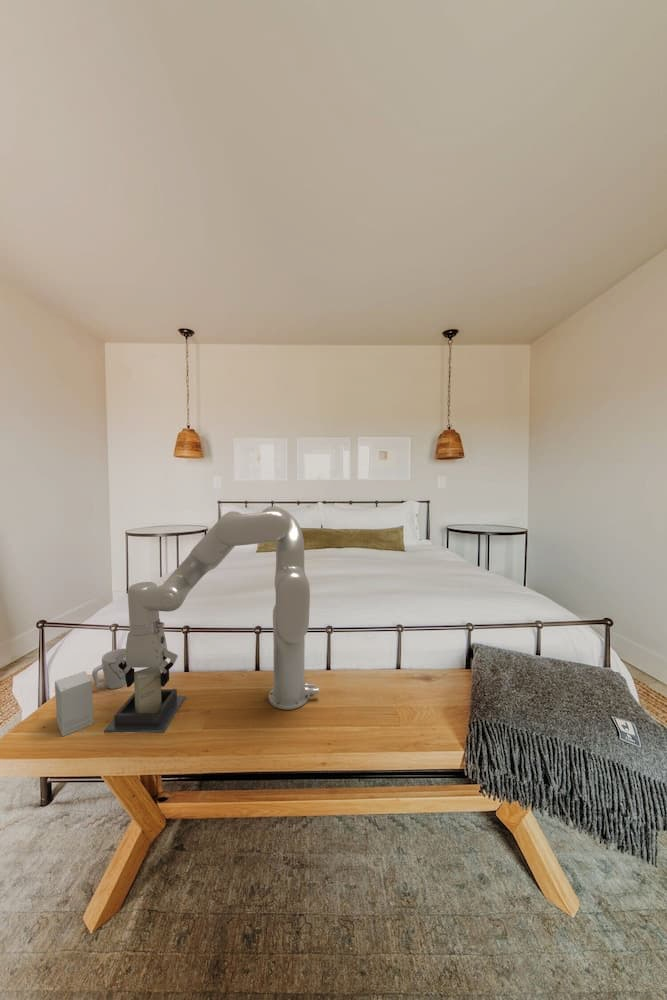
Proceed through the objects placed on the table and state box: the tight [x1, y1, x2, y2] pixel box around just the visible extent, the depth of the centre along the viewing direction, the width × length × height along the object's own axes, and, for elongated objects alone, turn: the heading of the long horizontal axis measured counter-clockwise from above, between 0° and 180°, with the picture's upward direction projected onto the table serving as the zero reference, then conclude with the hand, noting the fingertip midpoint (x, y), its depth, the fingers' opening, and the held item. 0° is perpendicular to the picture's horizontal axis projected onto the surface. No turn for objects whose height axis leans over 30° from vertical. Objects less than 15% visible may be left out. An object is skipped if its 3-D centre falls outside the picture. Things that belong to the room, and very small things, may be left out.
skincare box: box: [133, 667, 162, 713], centre depth 106 cm, size 6×4×12 cm
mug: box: [91, 647, 127, 690], centre depth 120 cm, size 11×8×10 cm
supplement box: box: [54, 671, 94, 737], centre depth 102 cm, size 7×7×13 cm
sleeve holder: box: [103, 688, 186, 734], centre depth 106 cm, size 16×15×4 cm
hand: (147, 684), depth 106 cm, fingers open, 9 cm apart
